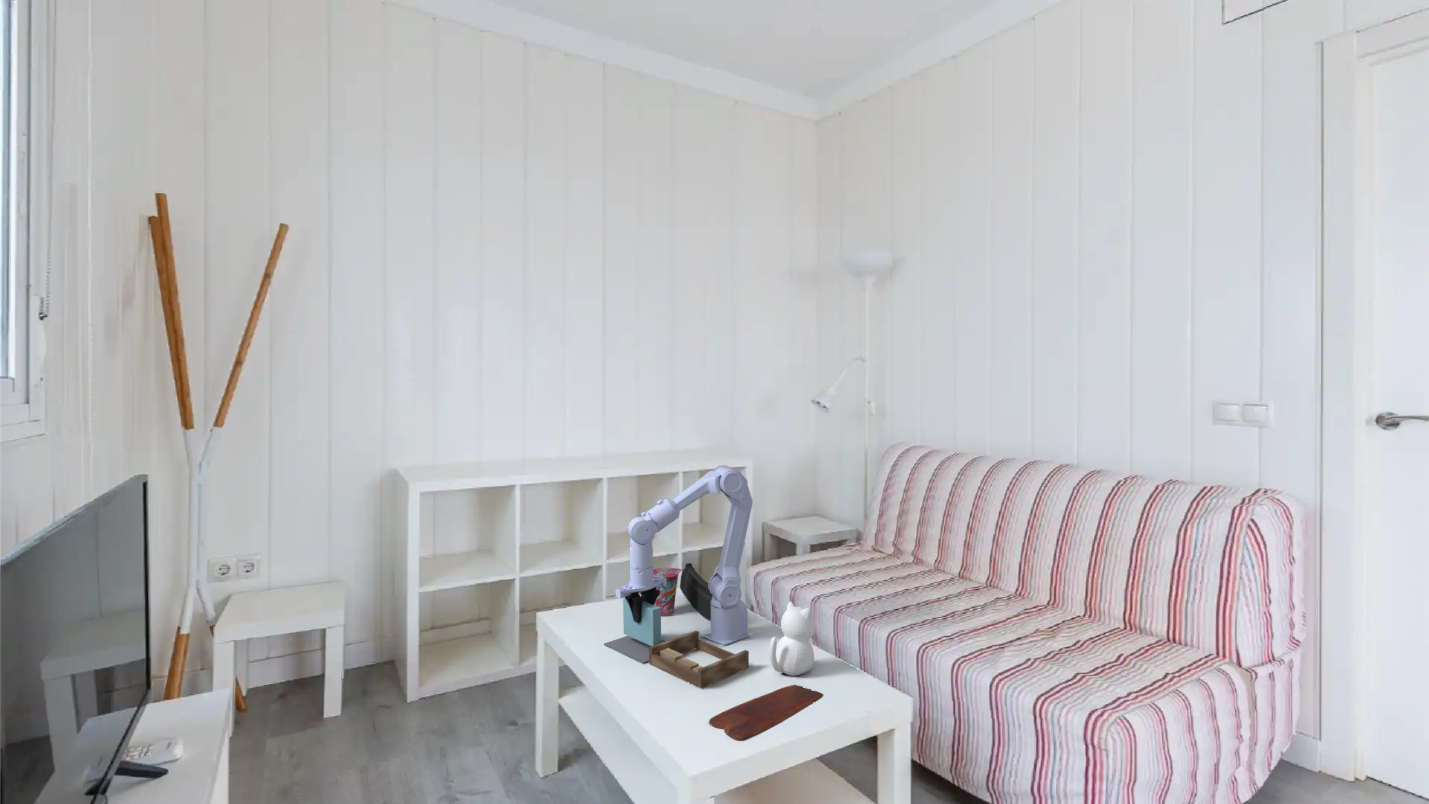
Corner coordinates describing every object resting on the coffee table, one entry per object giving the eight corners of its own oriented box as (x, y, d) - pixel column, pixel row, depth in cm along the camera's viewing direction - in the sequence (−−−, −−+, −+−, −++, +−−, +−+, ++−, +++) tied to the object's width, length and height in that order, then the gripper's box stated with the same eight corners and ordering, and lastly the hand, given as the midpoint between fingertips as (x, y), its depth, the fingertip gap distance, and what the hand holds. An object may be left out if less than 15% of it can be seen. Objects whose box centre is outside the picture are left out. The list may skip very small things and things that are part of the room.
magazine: (732, 598, 184) (693, 541, 211) (720, 600, 183) (683, 542, 209) (725, 652, 190) (688, 590, 216) (714, 654, 189) (678, 591, 215)
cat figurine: (825, 671, 161) (825, 606, 160) (785, 685, 153) (785, 617, 153) (797, 658, 168) (798, 596, 167) (758, 671, 160) (758, 606, 160)
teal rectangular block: (631, 631, 180) (631, 596, 180) (661, 643, 171) (660, 607, 171) (623, 633, 178) (623, 598, 178) (653, 646, 170) (652, 610, 169)
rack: (696, 646, 175) (696, 630, 175) (748, 668, 162) (748, 651, 162) (649, 664, 165) (649, 647, 165) (701, 688, 152) (700, 670, 152)
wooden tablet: (740, 746, 130) (741, 738, 130) (704, 726, 137) (704, 718, 137) (830, 699, 148) (830, 692, 148) (794, 684, 155) (794, 676, 155)
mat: (641, 632, 185) (641, 630, 185) (681, 649, 173) (681, 648, 173) (604, 645, 176) (604, 643, 176) (643, 664, 165) (643, 662, 165)
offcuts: (668, 660, 167) (667, 648, 167) (711, 680, 156) (711, 667, 156) (659, 663, 165) (659, 651, 165) (703, 683, 154) (703, 670, 154)
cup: (667, 620, 193) (667, 577, 193) (643, 615, 198) (643, 573, 197) (687, 610, 201) (686, 569, 200) (663, 605, 206) (663, 565, 205)
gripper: (654, 557, 182) (654, 609, 182) (607, 568, 172) (608, 623, 172) (671, 562, 177) (672, 616, 177) (625, 574, 167) (625, 631, 167)
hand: (642, 620), depth 175 cm, fingers closed on teal rectangular block, 2 cm apart
